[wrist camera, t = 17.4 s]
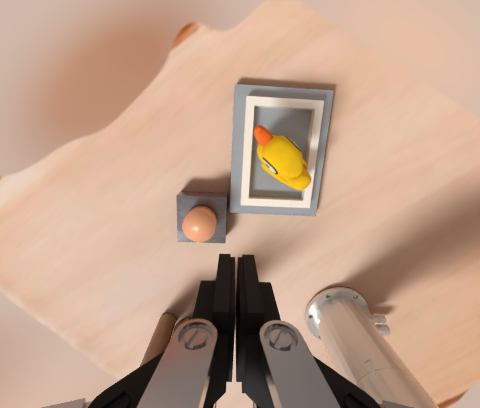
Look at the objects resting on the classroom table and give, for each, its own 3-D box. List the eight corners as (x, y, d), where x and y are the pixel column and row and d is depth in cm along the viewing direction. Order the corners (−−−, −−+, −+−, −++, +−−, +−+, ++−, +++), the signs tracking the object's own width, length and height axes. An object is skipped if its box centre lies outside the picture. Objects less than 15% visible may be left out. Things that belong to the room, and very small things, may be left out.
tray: (329, 92, 36) (338, 88, 33) (312, 213, 41) (318, 218, 38) (234, 86, 35) (234, 81, 32) (229, 210, 40) (229, 215, 38)
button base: (227, 193, 40) (226, 197, 37) (225, 236, 42) (225, 243, 39) (180, 191, 39) (176, 195, 36) (181, 234, 41) (177, 241, 38)
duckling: (238, 143, 36) (240, 143, 26) (263, 117, 35) (274, 108, 26) (285, 192, 38) (303, 209, 29) (310, 170, 38) (336, 179, 28)
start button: (217, 206, 37) (215, 211, 34) (216, 235, 38) (215, 242, 35) (186, 205, 37) (182, 210, 34) (186, 234, 38) (182, 241, 35)
